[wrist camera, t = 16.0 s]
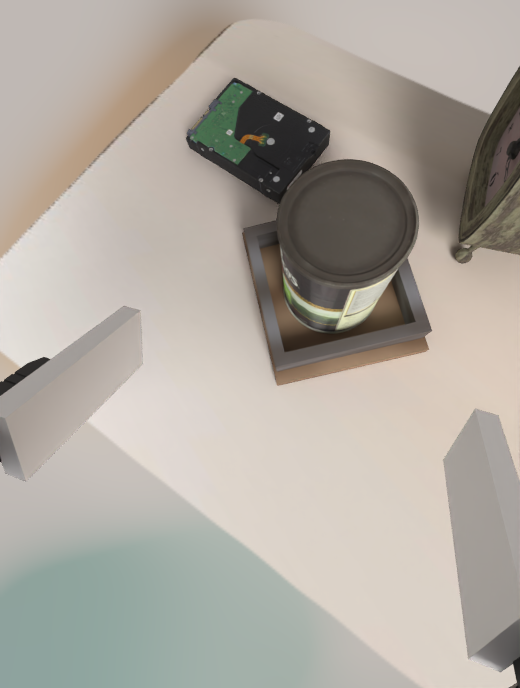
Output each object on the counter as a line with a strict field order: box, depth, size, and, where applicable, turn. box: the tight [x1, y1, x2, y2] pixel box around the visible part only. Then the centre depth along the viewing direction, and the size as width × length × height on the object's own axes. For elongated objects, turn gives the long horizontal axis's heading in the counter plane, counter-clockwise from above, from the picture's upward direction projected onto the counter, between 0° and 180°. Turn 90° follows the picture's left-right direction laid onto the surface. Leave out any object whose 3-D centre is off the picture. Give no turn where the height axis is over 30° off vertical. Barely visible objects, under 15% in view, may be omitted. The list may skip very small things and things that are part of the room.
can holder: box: [242, 221, 432, 386], centre depth 41 cm, size 18×16×4 cm
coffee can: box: [276, 159, 419, 334], centre depth 35 cm, size 10×10×14 cm
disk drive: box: [186, 78, 330, 204], centre depth 47 cm, size 10×3×15 cm
